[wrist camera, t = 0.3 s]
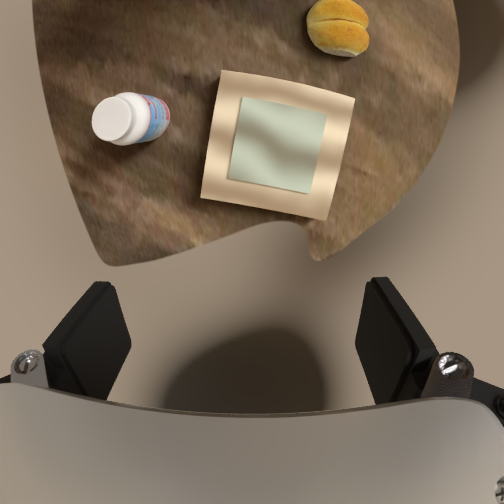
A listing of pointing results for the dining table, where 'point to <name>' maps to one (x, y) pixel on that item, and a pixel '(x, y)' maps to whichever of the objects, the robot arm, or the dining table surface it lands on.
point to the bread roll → (338, 27)
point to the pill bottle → (130, 118)
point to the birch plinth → (275, 144)
